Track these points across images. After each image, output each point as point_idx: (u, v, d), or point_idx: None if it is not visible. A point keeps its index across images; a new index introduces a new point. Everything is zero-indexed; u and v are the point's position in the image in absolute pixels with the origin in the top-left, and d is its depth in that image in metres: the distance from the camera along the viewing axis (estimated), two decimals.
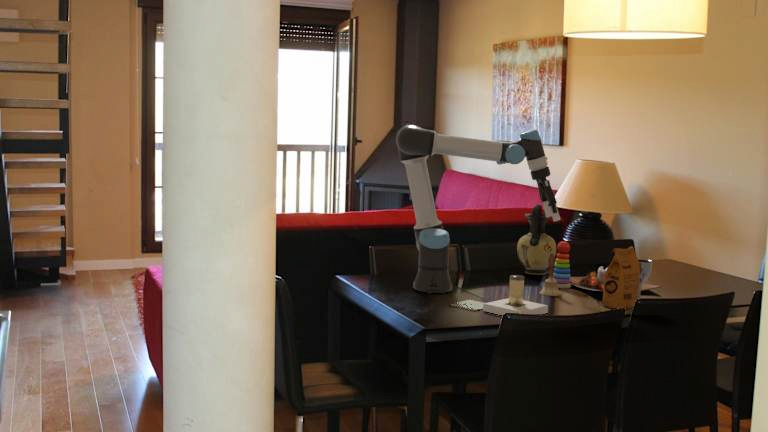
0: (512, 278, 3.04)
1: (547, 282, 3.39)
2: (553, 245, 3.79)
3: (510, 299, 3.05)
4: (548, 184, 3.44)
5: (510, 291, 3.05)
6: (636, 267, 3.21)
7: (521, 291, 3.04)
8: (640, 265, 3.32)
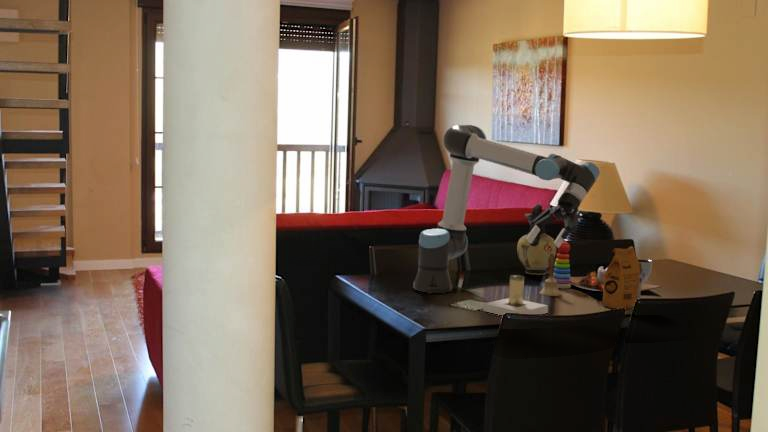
0: (512, 278, 3.04)
1: (547, 282, 3.39)
2: (553, 245, 3.79)
3: (510, 299, 3.05)
4: (578, 214, 3.11)
5: (510, 291, 3.05)
6: (636, 267, 3.21)
7: (521, 291, 3.04)
8: (640, 265, 3.32)
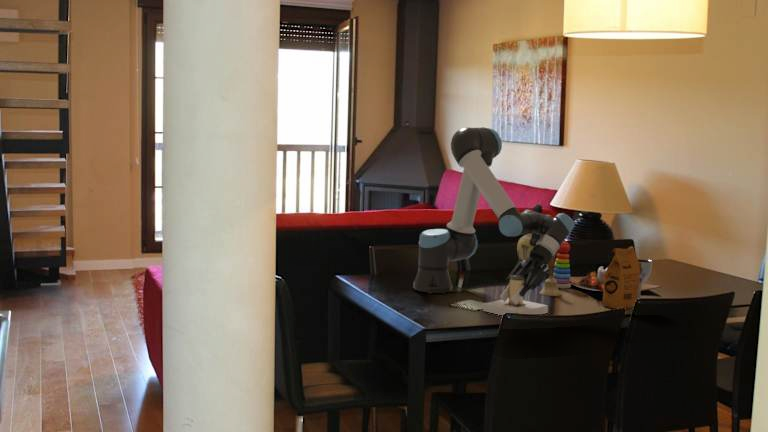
0: (512, 278, 3.04)
1: (547, 282, 3.39)
2: None
3: (510, 299, 3.05)
4: (545, 271, 3.04)
5: (510, 291, 3.05)
6: (636, 267, 3.21)
7: None
8: (640, 265, 3.32)
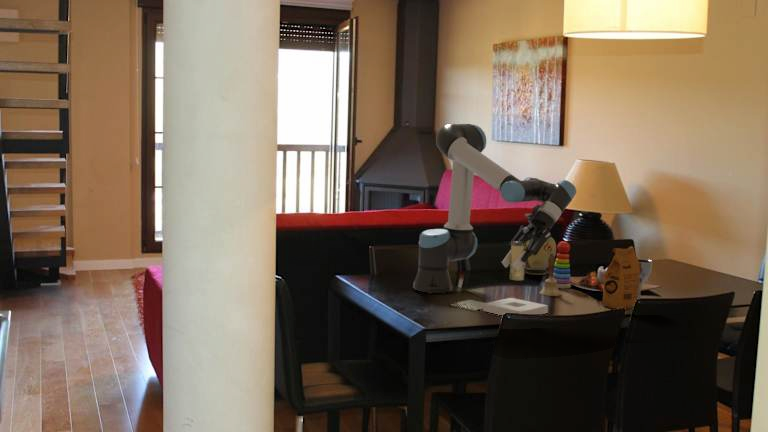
0: (514, 244, 3.02)
1: (547, 282, 3.39)
2: (553, 245, 3.79)
3: (512, 265, 3.04)
4: (547, 237, 3.03)
5: (512, 257, 3.03)
6: (636, 267, 3.21)
7: None
8: (640, 265, 3.32)
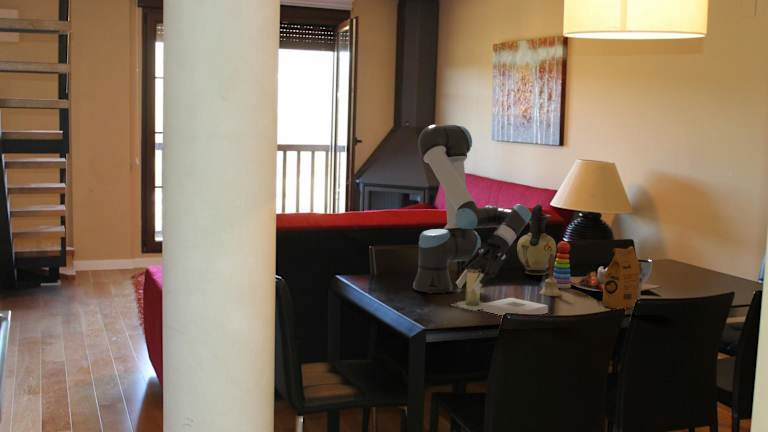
0: (469, 271, 3.12)
1: (547, 282, 3.39)
2: (553, 245, 3.79)
3: (467, 291, 3.13)
4: (503, 259, 3.12)
5: (467, 283, 3.13)
6: (636, 267, 3.21)
7: None
8: (640, 265, 3.32)
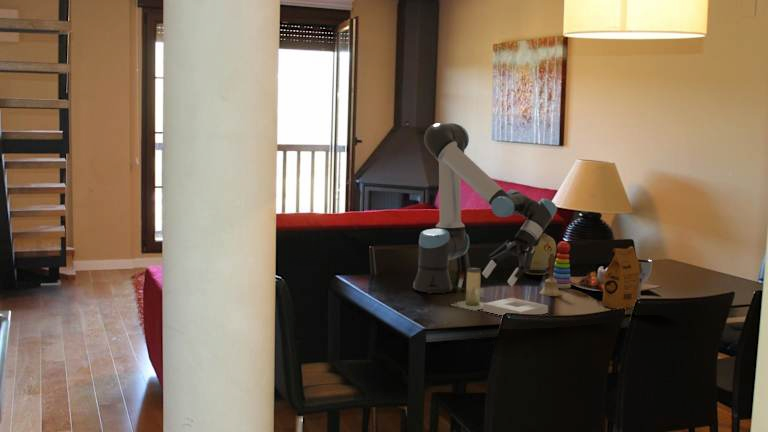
0: (469, 270, 3.12)
1: (547, 282, 3.39)
2: (553, 245, 3.79)
3: (467, 291, 3.13)
4: (532, 253, 3.20)
5: (467, 283, 3.13)
6: (636, 267, 3.21)
7: (478, 283, 3.12)
8: (640, 265, 3.32)
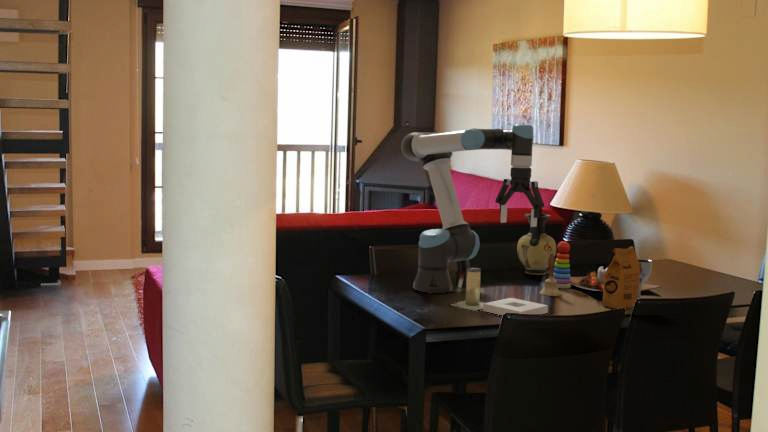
0: (469, 270, 3.12)
1: (547, 282, 3.39)
2: (553, 245, 3.79)
3: (467, 291, 3.13)
4: (537, 185, 3.17)
5: (467, 283, 3.13)
6: (636, 267, 3.21)
7: (478, 283, 3.13)
8: (640, 265, 3.32)
